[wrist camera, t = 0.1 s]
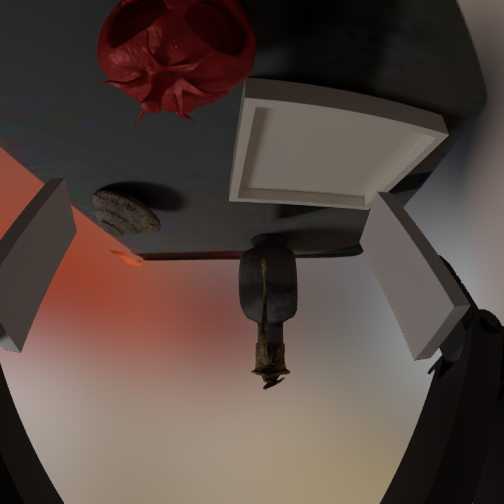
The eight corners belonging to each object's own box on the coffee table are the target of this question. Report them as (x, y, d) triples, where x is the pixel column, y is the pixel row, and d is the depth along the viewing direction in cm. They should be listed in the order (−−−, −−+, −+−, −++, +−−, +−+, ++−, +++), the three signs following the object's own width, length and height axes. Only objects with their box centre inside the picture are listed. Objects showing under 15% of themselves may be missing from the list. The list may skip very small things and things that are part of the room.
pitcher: (249, 251, 75) (249, 383, 67) (231, 222, 57) (230, 397, 49) (296, 248, 73) (299, 382, 65) (293, 218, 55) (297, 398, 47)
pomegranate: (231, 74, 24) (228, 167, 21) (113, 59, 21) (81, 152, 18) (276, -20, 15) (288, 63, 12) (121, -44, 12) (60, 34, 9)
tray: (245, 77, 24) (244, 98, 23) (441, 115, 26) (448, 134, 26) (229, 184, 43) (229, 201, 42) (365, 194, 45) (367, 209, 45)
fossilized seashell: (119, 186, 39) (121, 239, 40) (175, 187, 48) (177, 232, 49) (82, 193, 44) (84, 238, 45) (134, 192, 53) (135, 232, 54)
